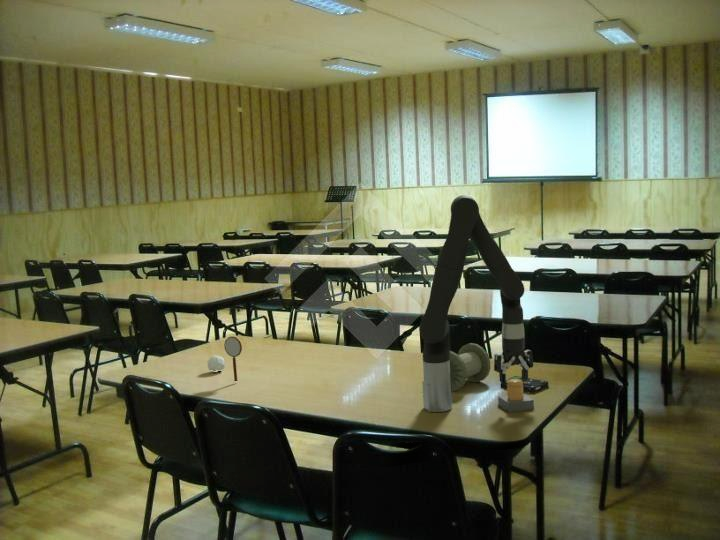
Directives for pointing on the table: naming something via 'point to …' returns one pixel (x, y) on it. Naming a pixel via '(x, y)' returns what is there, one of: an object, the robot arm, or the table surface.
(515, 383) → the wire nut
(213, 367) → the ball
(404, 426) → the table surface
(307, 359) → the table surface
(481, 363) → the spool
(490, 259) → the robot arm
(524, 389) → the disk drive
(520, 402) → the grey piece
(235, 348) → the magnifying glass
